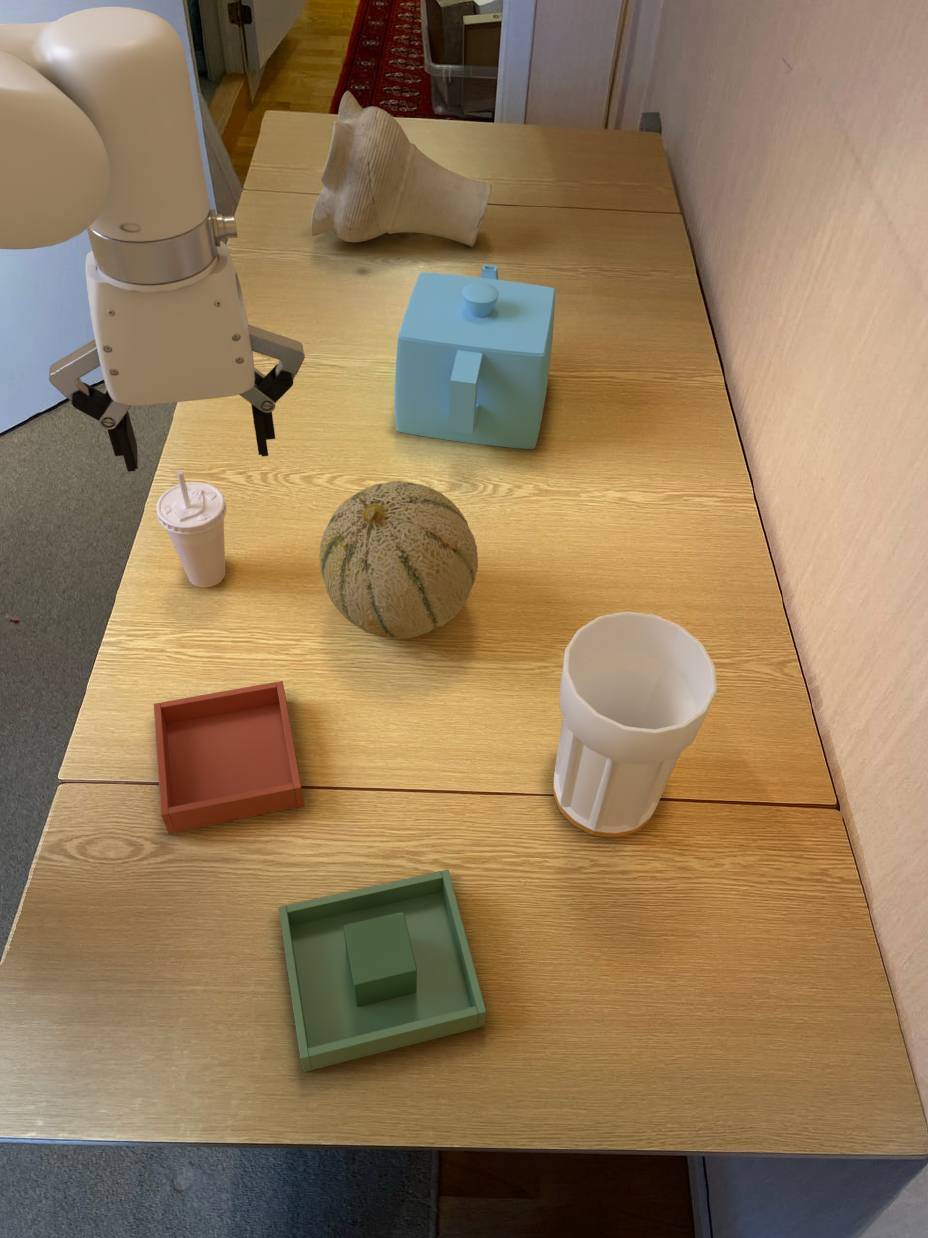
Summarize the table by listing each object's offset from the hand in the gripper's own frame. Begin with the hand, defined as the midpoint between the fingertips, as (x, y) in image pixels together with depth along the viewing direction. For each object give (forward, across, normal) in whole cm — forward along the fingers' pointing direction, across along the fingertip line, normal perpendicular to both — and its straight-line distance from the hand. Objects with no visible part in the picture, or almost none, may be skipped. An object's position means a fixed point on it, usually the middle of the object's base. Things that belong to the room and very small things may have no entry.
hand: (198, 451), depth 74 cm
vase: (+25, -30, -72) cm, 81 cm away
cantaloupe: (+25, -16, -2) cm, 29 cm away
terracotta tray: (+24, +2, +12) cm, 27 cm away
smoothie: (+25, +2, -11) cm, 27 cm away
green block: (+24, -8, +33) cm, 41 cm away
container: (+25, -31, -34) cm, 52 cm away
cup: (+25, -29, +21) cm, 44 cm away
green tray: (+24, -8, +33) cm, 42 cm away
